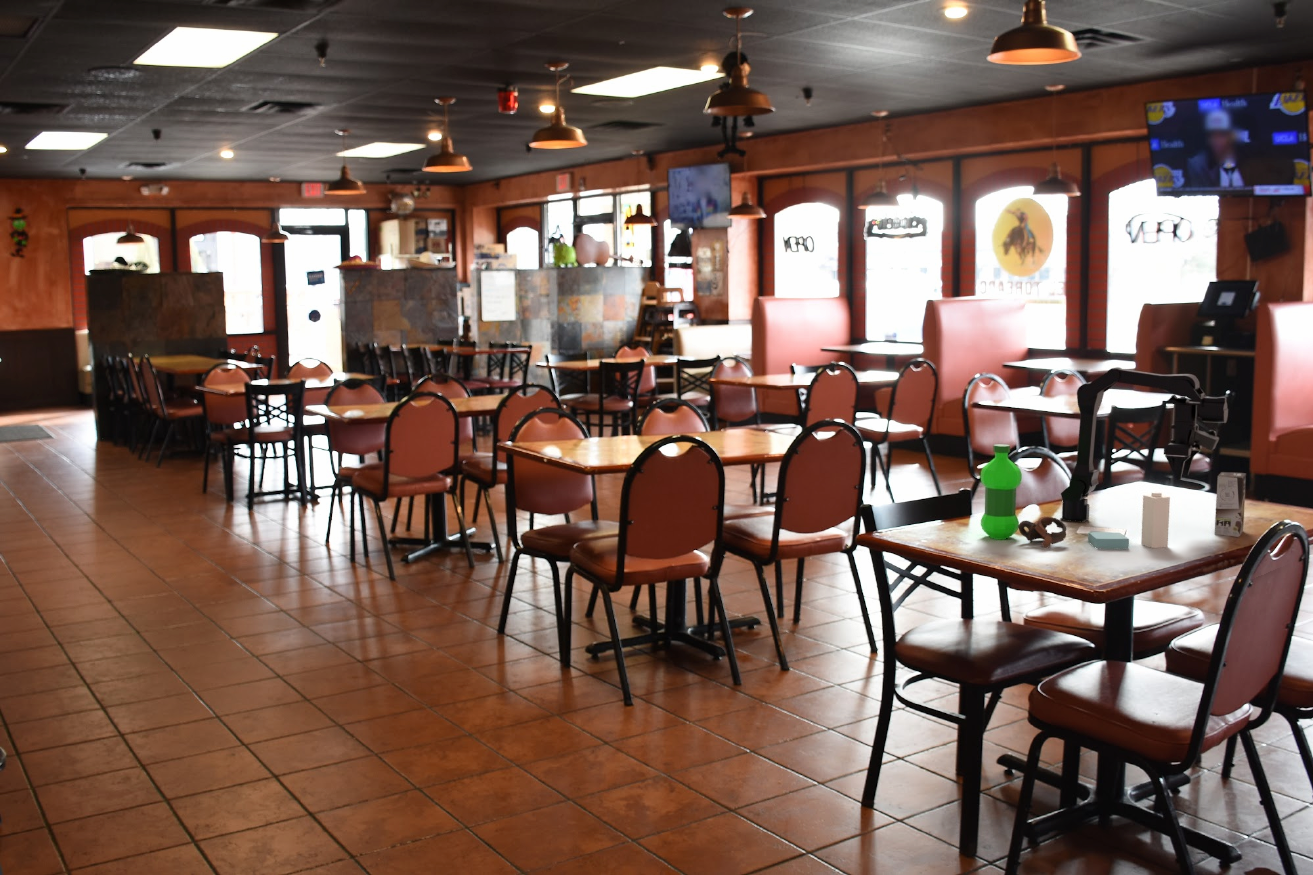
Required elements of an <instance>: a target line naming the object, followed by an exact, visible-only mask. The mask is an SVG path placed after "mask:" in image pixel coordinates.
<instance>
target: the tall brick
mask: <svg viewBox="0 0 1313 875" xmlns="http://www.w3.org/2000/svg"><path fill="white" fill-rule="evenodd" d="M1142 496H1143V497H1142V520H1141V542H1140V543H1141V544H1142V546H1144V545H1145V546H1144V547H1148V548H1150V547H1151V549H1155V548H1156V549H1157V548H1158V549H1159V548H1160V549H1161V548H1168V545H1169V526H1170V525H1169V524H1170V523H1169V522H1170V502H1171V501H1170V500H1171V497H1170V496H1166V495H1163V493H1162V492H1157V491H1155V492H1151V494H1144V495H1142ZM1141 544H1140V545H1141Z"/></svg>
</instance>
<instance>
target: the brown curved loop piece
mask: <svg viewBox="0 0 1313 875" xmlns="http://www.w3.org/2000/svg"><path fill="white" fill-rule="evenodd" d="M1053 524H1055V525H1056V527H1057V528H1059V529H1062V530H1061V531H1059V532H1056V531H1054V532H1053V531H1051V532H1048V529H1047V527H1048V526H1052V525H1053ZM1025 528H1027V530H1026V529H1025ZM1018 530H1019V532H1020V534H1021V535H1022V536H1023V537H1025V538H1026V540H1027V541H1028V542H1030V541H1031V542H1032V541H1034V540H1039V539H1041V540H1043V542H1042V543H1041V545H1042V547H1045V548H1046V547H1048V548H1049V547H1050V546H1051V545H1055V544H1058V543H1061V542H1064V539H1066V537H1067V532H1066V531H1067V526H1066V524H1065V523H1064V522H1063V520H1060V519H1058V518H1056V517H1052V516H1042V517H1039V518H1038V520H1036V521H1035V522H1031V521H1030V520H1022V521H1021V522H1019V526H1018Z"/></svg>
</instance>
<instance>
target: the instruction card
mask: <svg viewBox="0 0 1313 875" xmlns="http://www.w3.org/2000/svg"><path fill="white" fill-rule="evenodd" d="M1126 532H1127V529H1121V528H1111V527H1110V528H1109V527H1108V528H1107V527H1094V526H1082V525H1081V526H1080V525H1079V527H1078V530H1077V531H1076V534H1077V535H1078V534H1079V535H1088V533H1121V534H1123V535H1124V536H1126V535H1125V534H1126Z"/></svg>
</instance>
